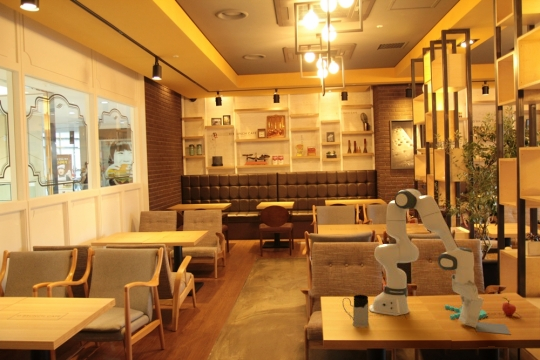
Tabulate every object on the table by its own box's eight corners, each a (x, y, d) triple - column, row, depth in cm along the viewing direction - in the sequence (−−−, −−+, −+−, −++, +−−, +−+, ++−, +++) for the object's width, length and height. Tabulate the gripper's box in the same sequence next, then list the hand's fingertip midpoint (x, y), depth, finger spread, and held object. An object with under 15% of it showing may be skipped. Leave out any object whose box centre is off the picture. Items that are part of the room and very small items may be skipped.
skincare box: (475, 328, 243) (485, 299, 243) (463, 324, 243) (472, 295, 243) (469, 323, 252) (478, 295, 252) (457, 319, 252) (466, 291, 252)
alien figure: (450, 320, 258) (489, 322, 254) (450, 316, 258) (489, 318, 254) (444, 308, 278) (481, 310, 274) (444, 304, 278) (481, 306, 274)
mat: (476, 331, 240) (476, 330, 240) (472, 322, 253) (472, 321, 253) (510, 334, 235) (510, 334, 235) (505, 325, 248) (505, 324, 248)
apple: (511, 313, 267) (511, 295, 266) (518, 317, 260) (518, 299, 259) (498, 313, 267) (498, 296, 266) (504, 317, 260) (504, 299, 259)
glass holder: (367, 328, 246) (367, 299, 245) (341, 325, 251) (340, 297, 250) (370, 322, 254) (370, 295, 254) (344, 319, 259) (344, 292, 258)
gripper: (481, 283, 237) (481, 310, 237) (460, 273, 257) (460, 298, 257) (469, 283, 236) (469, 311, 236) (449, 274, 256) (449, 299, 257)
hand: (464, 304), depth 247 cm, fingers closed
